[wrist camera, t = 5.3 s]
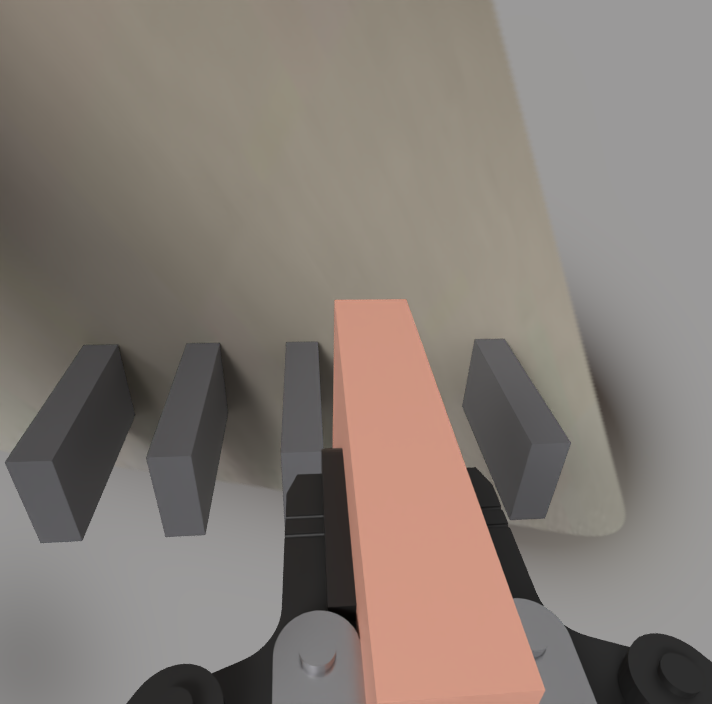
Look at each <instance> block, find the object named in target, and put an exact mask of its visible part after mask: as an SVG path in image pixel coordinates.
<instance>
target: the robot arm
mask: <svg viewBox="0 0 712 704" xmlns="http://www.w3.org/2000/svg"><path fill="white" fill-rule="evenodd" d="M466 469H467V471H468V474H469V477H470V480H471V483H472V485H473V488H474V491H475V494H476V497H477V499H478V502H479V505H480V508H481V511H482V513H483V516H484V519H485V522H486V525H487V527H488V530H489V533H490V536H491V539H492V542H493V544H494V547H495V550H496V553H497V556H498V558H499V561H500V564H501V567H502V570H503V572H504V575H505V578H506V581H507V584H508V586H509V589H510V592H511V595H512V598H513V600H514V603H515V606H516V609H517V612H518V615H519V617H520V620H521V623H522V626H523V629H524V631H525V634H526V637H527V640H528V643H529V645H530V648H531V651H532V654H533V657H534V659H535V662H536V665H537V668H538V671H539V673H540V676H541V679H542V682H543V685H544V687H545V692H544V694H543V696H542V698H541V700H540V702H539V704H712V662H711V661H710V660H708V659H707V658H706V657H705V656H703V655H702V654H701V653H700V652H698V651H697V650H696V649H694V648H693V647H692V646H690V645H688V644H687V643H685V642H683V641H681V640H679V639H677V638H674V637H672V636H668V635H664V634H658V633H656V634H647V635H643V636H641V637H639V638H637V639H636V640H635V641H634V642H633V644H632V645H631V647H627V646H623V645H619V644H616V643H612V642H608V641H604V640H600V639H597V638H593V637H589V636H586V635H583V634H580V633H578V632H575V631H573V630H571V629H570V628H568V627H566V626H565V625H563V623H562V622H561V621H560V619H559V618H558V617H557V616H556V615H555V614H553V613H552V612H551V611H550V610H548V609H547V608H546V607H544V606H543V604H542V602H541V601H540V599H539V597H538V595H537V593H536V591H535V588H534V586H533V583H532V581H531V579H530V577H529V574H528V571H527V569H526V566H525V564H524V561H523V559H522V556H521V554H520V551H519V549H518V547H517V544H516V542H515V539H514V537H513V534H512V532H511V529H510V528H509V527H508V522H507V520H506V517H505V515H504V512H503V510H501V505H500V502H499V500H498V497H497V495H496V492H495V490H494V488H493V485H492V484H491V483H490V482H489V481H488V480H487V479H486V478H485V477H484V476H483V475H482V473H481V472H480V471H479V470H478V469H477V468H476V467H474V468H466ZM356 609H357V603H356V592H355V581H354V570H353V559H352V548H351V536H350V525H349V514H348V503H347V492H346V481H345V469H344V458H343V449H342V448H325V449H321V474H297V476H296V477H295V479H294V481H293V483H292V485H291V486H290V488H289V490H288V492H287V494H286V520H285V544H284V570H283V594H282V612H281V618H280V621H279V624H278V626H277V628H276V631H275V632H274V634H273V635H272V637H271V638H270V640H269V641H268V642H267V643H266V644H265V646H264V647H262V648H261V649H260V650H259V651H258V652H256V653H255V654H254V655H252V656H251V657H248V658H246V659H244V660H242V661H240V662H238V663H235V664H233V665H231V666H228V667H226V668H224V669H221V670H219V671H216V672H214V673H210V672H209V671H208V670H207V669H204V668H203V667H200V666H197V665H193V664H180V665H175V666H171V667H168V668H166V669H163V670H161V671H160V672H158V673H156V674H155V675H153V676H152V677H150V678H149V679H148V680H147V681H146V682H144V684H143V685H142V686H141V687H140V688H139V689H138V690H137V691H136V692H135V694H134V695H133V696H132V697H131V699H130V700H129V701H128V703H127V704H366V696H365V685H364V674H363V663H362V652H361V642H360V639H359V636H358V634H357V629H356Z"/></svg>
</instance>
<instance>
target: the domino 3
mask: <svg viewBox="0 0 712 704" xmlns="http://www.w3.org/2000/svg"><path fill="white" fill-rule="evenodd" d="M321 449H323V431H322V412H321V392H320V373H319V353H318V342H286V355H285V376H284V397H283V418H282V439H281V465H282V483H283V501H284V519H285V520H286V494H287V492H288V490H289V488H290V486H291V485H292V483H293V481H294V479H295V477H296V476H297V474H321Z"/></svg>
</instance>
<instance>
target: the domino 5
mask: <svg viewBox="0 0 712 704" xmlns="http://www.w3.org/2000/svg"><path fill="white" fill-rule="evenodd" d="M462 407H463V409H464V412H465V414H466V416H467V419H468V421H469V424H470V426H471V428H472V431H473V433H474V435H475V438H476V440H477V443H478V445H479V447H480V450H481V452H482V455H483V457H484V459H485V462H486V464H487V467H488V469H489V471H490V474H491V476H492V479H493V481H494V483H495V486H496V488H497V490H498V493H499V495H500V498H501V500H502V502H503V505H504V507H505V510H506V512H507V514H508V517H509V519H510V520H522V519H542V518H545V517H546V514H547V511H548V508H549V505H550V502H551V499H552V496H553V494H554V491H555V488H556V485H557V482H558V479H559V476H560V473H561V470H562V467H563V465H564V462H565V459H566V456H567V453H568V450H569V447H570V444H571V442H570V441H569V439H568V437H567V436H566V434H565V433H564V431H563V430H562V428H561V426H560V425H559V423H558V422H557V420H556V419H555V417H554V416H553V414H552V412H551V411H550V409H549V408H548V406H547V405H546V403H545V401H544V400H543V398H542V397H541V395H540V394H539V392H538V391H537V389H536V387H535V386H534V384H533V383H532V381H531V380H530V378H529V377H528V375H527V373H526V372H525V370H524V369H523V367H522V366H521V364H520V362H519V361H518V359H517V358H516V356H515V355H514V353H513V352H512V350H511V348H510V347H509V345H508V344H507V342H506V341H505V339H475V341H474V346H473V351H472V357H471V362H470V368H469V373H468V378H467V384H466V389H465V394H464V400H463V405H462Z"/></svg>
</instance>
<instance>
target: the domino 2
mask: <svg viewBox="0 0 712 704" xmlns="http://www.w3.org/2000/svg"><path fill="white" fill-rule="evenodd" d="M227 416H228V407H227V399H226V391H225V383H224V375H223V366H222V358H221V350H220V343H190V344H186V347H185V350H184V353H183V355H182V358H181V361H180V364H179V367H178V369H177V372H176V375H175V378H174V381H173V384H172V386H171V389H170V392H169V395H168V398H167V400H166V403H165V406H164V409H163V412H162V414H161V417H160V420H159V423H158V426H157V428H156V431H155V434H154V437H153V440H152V442H151V445H150V448H149V451H148V454H147V457H146V459H147V463H148V467H149V471H150V476H151V480H152V483H153V488H154V492H155V496H156V500H157V504H158V508H159V512H160V516H161V520H162V524H163V529H164V532H165V537H174V536H195V535H205V534H206V529H207V523H208V518H209V512H210V507H211V502H212V496H213V491H214V486H215V480H216V475H217V470H218V464H219V459H220V454H221V448H222V443H223V438H224V432H225V427H226V422H227Z"/></svg>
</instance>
